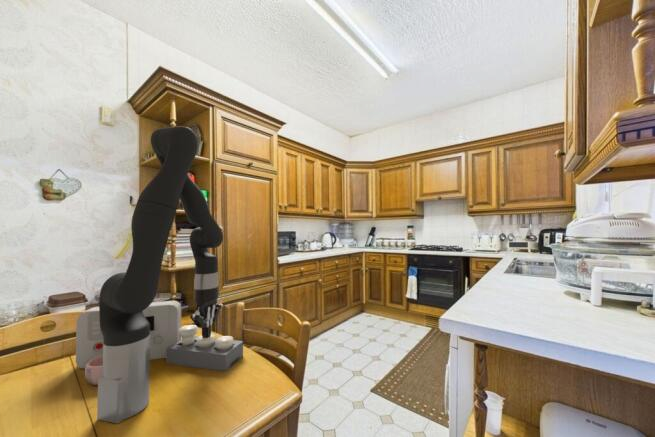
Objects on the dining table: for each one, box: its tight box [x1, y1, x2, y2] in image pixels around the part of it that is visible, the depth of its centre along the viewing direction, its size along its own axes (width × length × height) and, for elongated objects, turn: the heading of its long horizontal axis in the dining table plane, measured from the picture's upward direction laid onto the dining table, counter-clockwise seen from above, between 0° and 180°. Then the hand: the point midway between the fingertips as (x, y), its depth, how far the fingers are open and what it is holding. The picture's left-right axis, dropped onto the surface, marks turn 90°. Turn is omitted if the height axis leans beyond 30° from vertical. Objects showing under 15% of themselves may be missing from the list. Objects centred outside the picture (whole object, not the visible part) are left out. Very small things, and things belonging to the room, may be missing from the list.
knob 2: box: [197, 333, 216, 348], centre depth 88 cm, size 6×6×6 cm
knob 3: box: [215, 335, 234, 351], centre depth 87 cm, size 6×6×6 cm
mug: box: [84, 355, 103, 386], centre depth 78 cm, size 12×10×6 cm
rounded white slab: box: [75, 300, 182, 369], centre depth 88 cm, size 29×8×18 cm, turn 107°
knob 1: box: [179, 324, 198, 346], centre depth 90 cm, size 6×6×6 cm
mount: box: [165, 335, 244, 372], centre depth 88 cm, size 10×22×5 cm, turn 77°
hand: (206, 337), depth 88 cm, fingers closed
